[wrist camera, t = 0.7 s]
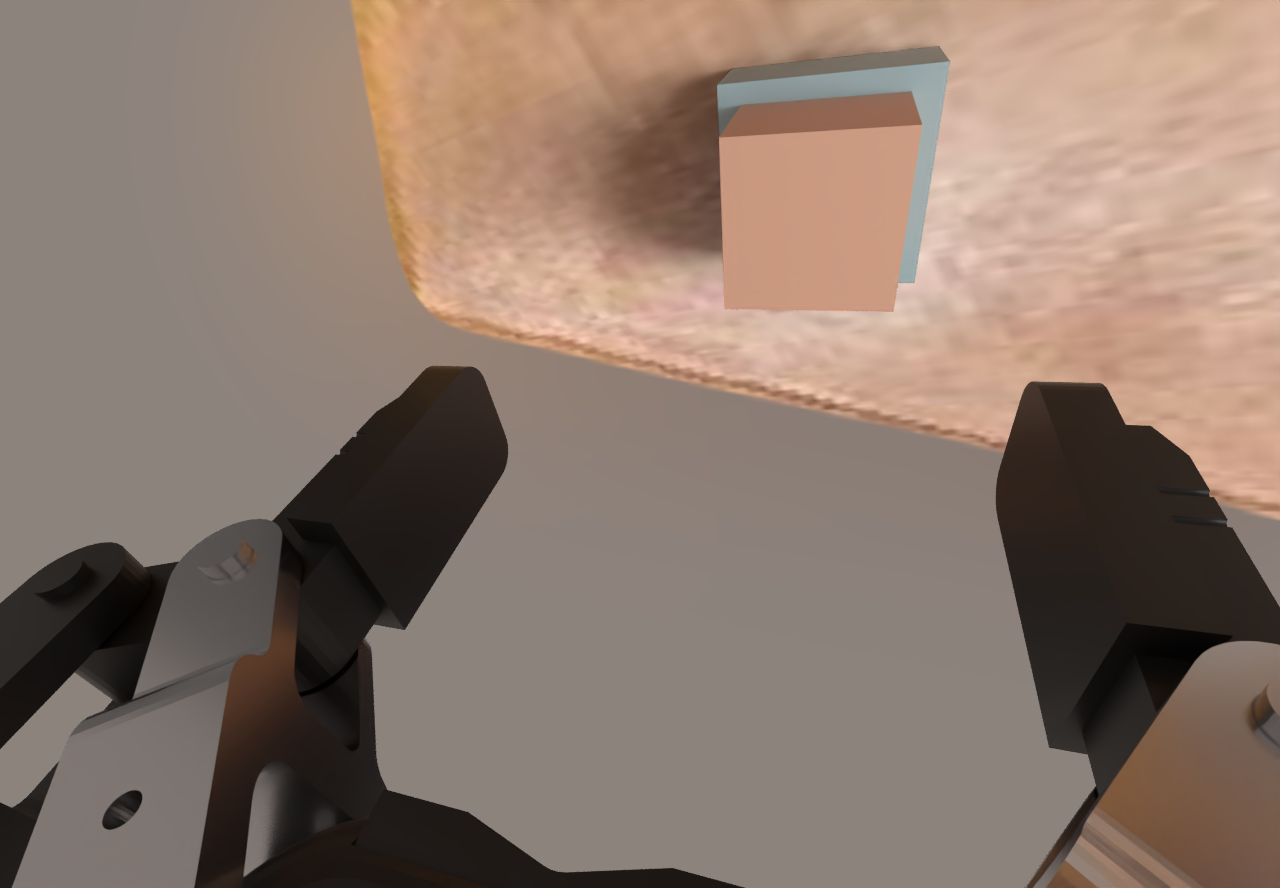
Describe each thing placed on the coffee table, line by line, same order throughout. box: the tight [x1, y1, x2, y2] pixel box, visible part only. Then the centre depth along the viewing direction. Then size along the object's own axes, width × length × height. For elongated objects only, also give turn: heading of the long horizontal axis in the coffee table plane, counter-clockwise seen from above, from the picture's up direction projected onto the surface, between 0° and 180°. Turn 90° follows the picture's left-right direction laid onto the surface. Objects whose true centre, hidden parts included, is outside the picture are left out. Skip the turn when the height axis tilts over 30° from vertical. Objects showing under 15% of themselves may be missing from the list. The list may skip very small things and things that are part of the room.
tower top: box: [719, 91, 922, 312], centre depth 22 cm, size 6×6×5 cm
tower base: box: [717, 46, 950, 283], centre depth 26 cm, size 8×8×4 cm
